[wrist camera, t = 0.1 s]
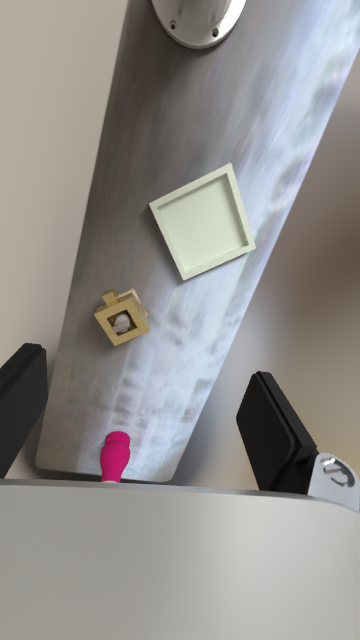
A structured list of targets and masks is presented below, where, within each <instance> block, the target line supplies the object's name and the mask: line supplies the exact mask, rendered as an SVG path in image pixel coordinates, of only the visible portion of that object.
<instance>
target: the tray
mask: <svg viewBox="0 0 360 640" xmlns="http://www.w3.org/2000/svg"><path fill="white" fill-rule="evenodd" d="M149 205H150V208H151V210H152V212H153V214H154V216H155V219H156V221H157V223H158V225H159V228H160V230H161V232H162V234H163V236H164V239H165V241H166V243H167V245H168V247H169V250H170V252H171V254H172V256H173V259H174V261H175V263H176V265H177V267H178V270H179V272H180V274H181V276H182V278H183V281H184V280H186V279H188V278H191V277H193V276H195V275H197V274H199V273H202V272H204V271H206V270H208V269H211V268H213V267H215V266H217V265H220V264H222V263H224V262H226V261H229V260H231V259H233V258H235V257H237V256H240V255H242V254H244V253H246V252H249V251H251V250H253V249H255V248H256V247H255V243H254V240H253V236H252V233H251V230H250V226H249V223H248V219H247V216H246V212H245V209H244V206H243V202H242V199H241V195H240V192H239V189H238V185H237V182H236V178H235V175H234V172H233V168H232V165H231V163H229V164H227V165H225V166H223V167H221V168H219V169H217V170H215V171H213V172H211V173H209V174H207V175H205V176H203V177H201V178H199V179H197V180H195V181H193V182H191V183H189V184H187V185H185V186H183V187H181V188H179V189H177V190H175V191H173V192H171V193H169V194H167V195H165V196H163V197H161V198H159V199H157V200H155V201H153V202H151V203H149Z"/></svg>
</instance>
